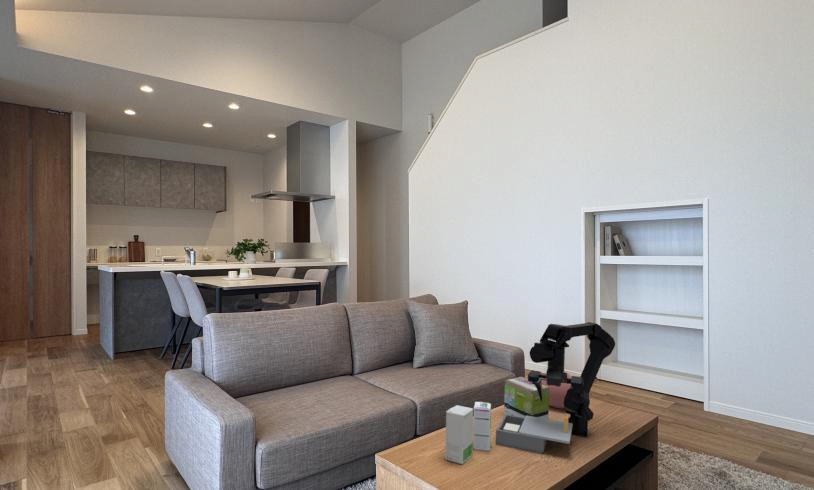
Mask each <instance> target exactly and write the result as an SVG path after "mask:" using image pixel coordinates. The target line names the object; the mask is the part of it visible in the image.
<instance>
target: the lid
mask: <svg viewBox="0 0 814 490" xmlns="http://www.w3.org/2000/svg"><path fill="white" fill-rule="evenodd" d="M569 417H570V415H569V414H568V415H566V414H564V418H563V421H559V420H554V419H549V418H548V419H544V418H538V417H532V416H526V417H525V419H524V421H523V423H522V426H521V428H520V430H519V434H520V435H525V436H530V437H535V438H541V439H546V440H547V441H552V442H557V443H563V444H567V445H570V443H571V437H572V434H571V432H572V425H573V424H572V423H568V418H569Z"/></svg>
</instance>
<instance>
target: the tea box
mask: <svg viewBox="0 0 814 490" xmlns="http://www.w3.org/2000/svg"><path fill="white" fill-rule="evenodd" d="M503 397H504V398H503V399H504V400H503V401H504V402H503V406H504V407H503V414H504V415H505V414H506V415H512V416H517V417H523V418H525V417H526V416H532V417H538V418H544V419H549V412H550V411H549V409H550V407H549V406H550V404H549V387H548V386H545V385H542V401H541V400H540V397H539V393H538V390H537V388H536V386H535V385H534V384H532V382H530V381H528V378H527V377H523V376H518V377H515V378H514V377H513V378H509V379H505V380H504V396H503Z"/></svg>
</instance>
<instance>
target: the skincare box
mask: <svg viewBox="0 0 814 490" xmlns="http://www.w3.org/2000/svg"><path fill="white" fill-rule="evenodd" d="M445 413H446V414H445V449H444V450H445V453H444V455H445V456H444V457H445V458H444V459H445V460H446V461H450V462H453V463H456V464H458V465H464V463H466V462H468V460H469V459H470V458H471V457H472V456H473V426H474V407H467V406H463V405H458V404H456V405H455V406H453V407H450V408H449V409H448V410H446V411H445Z"/></svg>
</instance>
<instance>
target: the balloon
mask: <svg viewBox="0 0 814 490" xmlns="http://www.w3.org/2000/svg"><path fill="white" fill-rule="evenodd" d="M572 376H573V375H571V374H569V373H567V378H572ZM542 385H545V386H548V387H549V406H551V407H553V408H556V409H559V410H560V409H565V407H564V404H563V402H564V397H565V395H566V393H567V390H568V389H570V386H571V384H567V383H561V386H559V387H557V386H554V385H547V381H546V380H542Z"/></svg>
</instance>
